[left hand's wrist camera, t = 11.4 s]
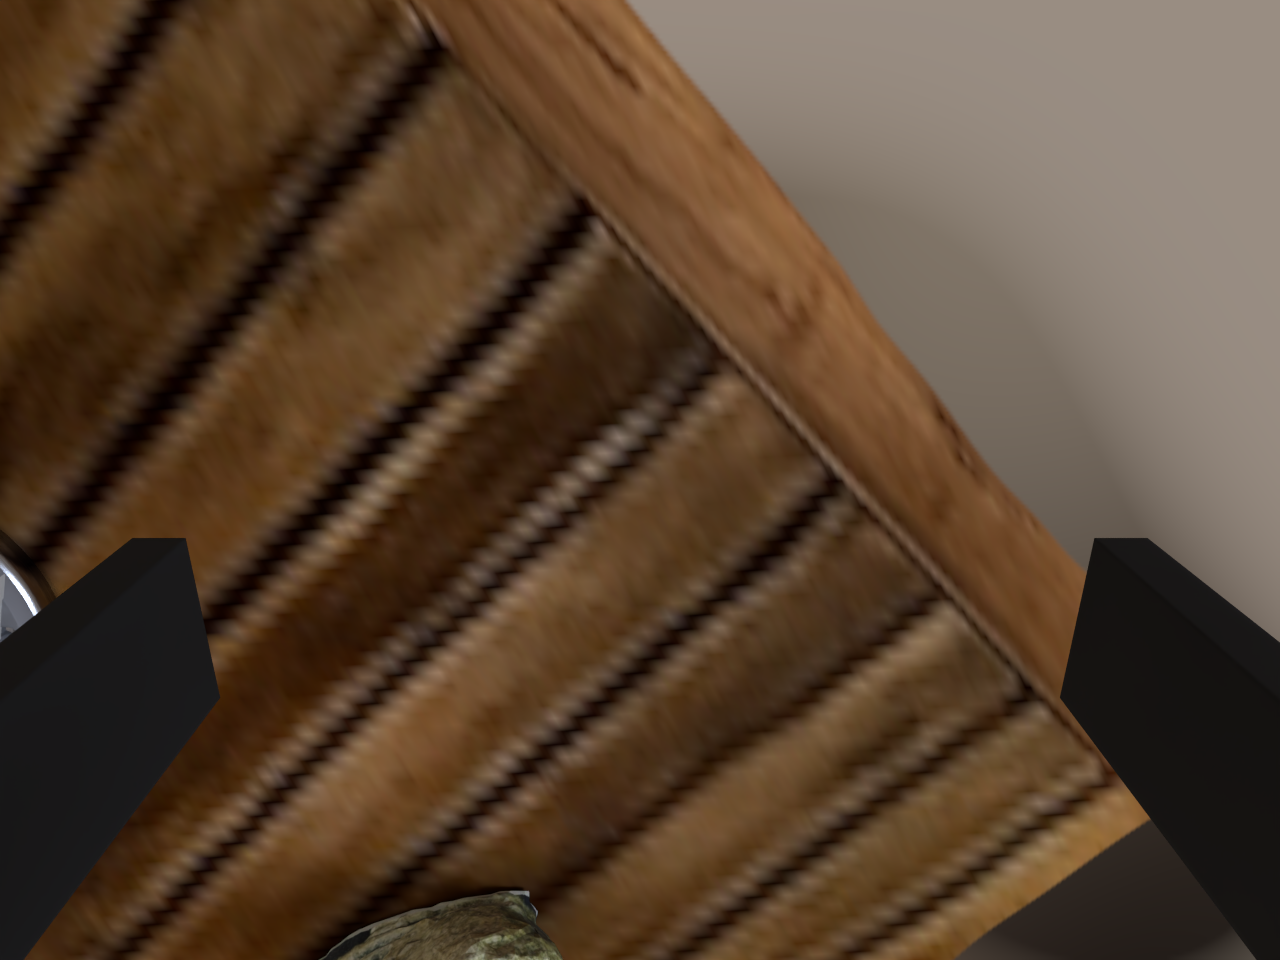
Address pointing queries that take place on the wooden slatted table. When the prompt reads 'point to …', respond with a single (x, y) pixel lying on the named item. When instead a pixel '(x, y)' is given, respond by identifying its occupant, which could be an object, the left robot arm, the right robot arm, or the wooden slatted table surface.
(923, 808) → the wooden slatted table surface
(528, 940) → the fossil
